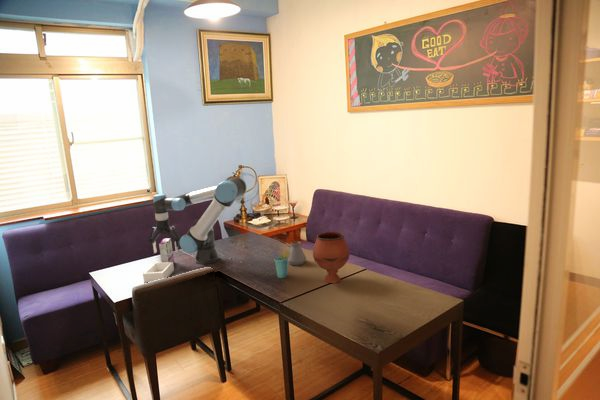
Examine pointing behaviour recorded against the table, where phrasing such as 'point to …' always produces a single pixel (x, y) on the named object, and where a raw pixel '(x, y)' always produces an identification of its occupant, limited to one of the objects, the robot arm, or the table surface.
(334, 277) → the goblet
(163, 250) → the candy bar box
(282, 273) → the cup
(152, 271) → the white open box
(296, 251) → the coffee pot
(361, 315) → the table surface
